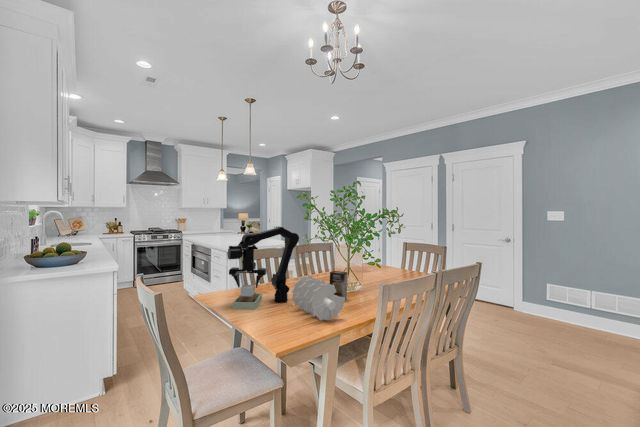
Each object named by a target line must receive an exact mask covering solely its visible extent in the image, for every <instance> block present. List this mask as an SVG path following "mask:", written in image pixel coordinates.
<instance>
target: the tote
mask: <svg viewBox="0 0 640 427" xmlns="http://www.w3.org/2000/svg"><path fill="white" fill-rule="evenodd" d="M255 293H256V301H255V302H239V296H240V295H241V293H240V294H239V295H238V296H237V297H236V298H235V300H233V302H232V310H251V311H254V310H257V308H258V307H259V305H260V303H261V302H262V300H263V293H262V292H261V293H260V292H258V293H257V292H255Z"/></svg>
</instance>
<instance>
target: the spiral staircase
mask: <svg viewBox="0 0 640 427" xmlns="http://www.w3.org/2000/svg"><path fill="white" fill-rule="evenodd" d="M291 293H292V302H294V306H298V308H299V309H301V311H303V310H304V311H305V312H306V313H308V314H310V315H311V316H312V317H316V318H317V319H319V321H331V320H332V319H333V318H336V317H338V315H339V314H340V313H341V311H342V310H343V308H344V304H345V302H346V300H345V298H344V297H338V296H337V295H334V293H336V289H335V286H334V285H331V284H330V282H328V281H327V282H326V281H324V280H323V279H321V280H320V278H319V279H316V278H315V277H314V276H313V277H312V276H310V275H309V274H307V275H306V276H300V278H299V280H297V281H295V282H294V287H293V288H292V290H291Z"/></svg>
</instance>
